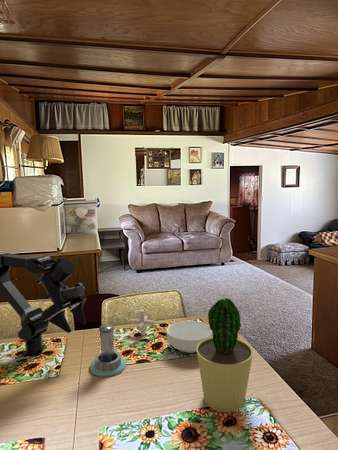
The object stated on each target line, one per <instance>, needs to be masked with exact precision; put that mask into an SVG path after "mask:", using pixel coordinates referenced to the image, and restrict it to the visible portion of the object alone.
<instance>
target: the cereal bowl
mask: <svg viewBox="0 0 338 450" xmlns="http://www.w3.org/2000/svg"><path fill="white" fill-rule="evenodd" d="M206 329H207V330H206ZM211 332H212V330H211V329H210V328H209V324H208V323H205V322H202V321H197V320H181V321H176V322H174V323H172V324H170V325H168V326H167V328H166V338H167V341H168V343H169V344H170V346H171V347H173V348H175V349H177V350H178V351H181V352H184V353H189V354H191V353H197V350H196V348H197V345H198V344H199V343H200V342H201V341H203V340H205V339H208V338H211V337H213V336H212V335H213V333H211Z"/></svg>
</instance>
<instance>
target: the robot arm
mask: <svg viewBox="0 0 338 450" xmlns="http://www.w3.org/2000/svg"><path fill="white" fill-rule="evenodd" d="M11 268H18V269H24V270H26V272H27V273H30V274H33V275H34V276H35V275H38V276H37V279H36V285H40V284H41V285H42V286H43V288H44V290H45V291H46V293H47V295H46V296H45V297H46V299H47V300H50V301H51V302H52V304H51V305H50V306H47V308H46V309H44V310H43V309H42V307H37V308H34V307H32V305H31V304H30V303H29V302H28V301H27V299H26V298H25V297H24V296H23V295H22V293H21V292H20V291H19V290H18V288H17V287H16V286H15V284H13V283H12V281H11V280H10V277H11V276H10V272H9V271H10V270H11ZM75 273H76V265H75V264H74V263H73V262H72V261H71V260H69V259H66V257H65V256H62V257H59V258H58V259H57V260H56V259H54V258H52V257H51V256H50V255H49V254H41V255H35V256H34V255H33V256H30V255H29V256H28V255H21V254H14V253H9V252H6V253H1V254H0V294H1V295H2V296H3V297H4V299H5V300H6V301H7V303H8V304H9V305H10V306H11V308H12V309H13V310H14V311H15V312H16V314H17V315H18V316H19V318H20V327H21V329H20V330H19V331H18V332H17V336H18V339H19V340H22V341H24V343H25V350H24V351H23V352H22V356H37V355H42V354H43V352H44V350H45V348H46V344H43V336H42V335H43V334H44V333H46V332H47V330H48V327H49V323H51V324H52V325H55V326H56V327H58V328H60V329H61V330H63V331H64V332H66V333H67V334H70V333H71V332H72V329H71V327H70V325H69V323H68V320H67V319H66V316H65V314H66V309H69V312H70V313H72V315H74V317H75V318H76V319H77V320H78V321H79V322H80V323H81V324H82V325H83V326H84V325H86V324H87V320H86V315H85V310H84V307H85V304H86V303H87V299H88V298H87V296H86V294H85V290H86V287H85V286H84V285H83V283H82V282H78V283H75V284H74V286H72V287H69V286H68V285H67V284H65V285H64V284H63V282H65V281H66V280H67V279H68V278H69V277H70V276H72V275H73V274H75ZM40 274H41V275H40Z"/></svg>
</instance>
